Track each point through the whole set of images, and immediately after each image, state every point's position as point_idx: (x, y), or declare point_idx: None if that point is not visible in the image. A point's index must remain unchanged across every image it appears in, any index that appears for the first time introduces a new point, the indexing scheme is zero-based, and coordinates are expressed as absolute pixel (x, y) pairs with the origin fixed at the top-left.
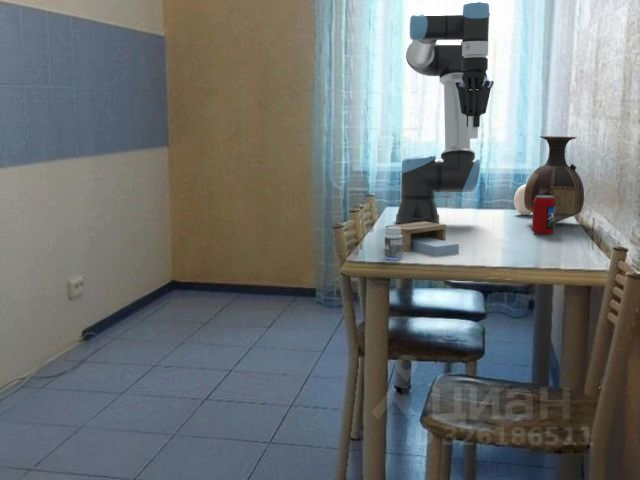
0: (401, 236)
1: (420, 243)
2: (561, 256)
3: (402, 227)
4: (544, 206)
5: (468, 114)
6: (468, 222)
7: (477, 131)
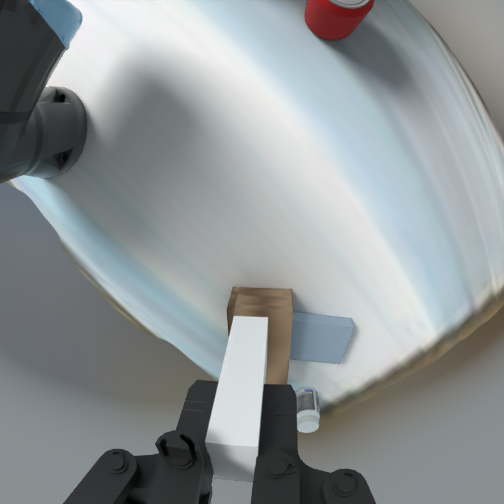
0: (319, 415)
1: (301, 359)
2: (478, 222)
3: None
4: (361, 18)
5: (209, 489)
6: (108, 36)
7: (264, 350)
